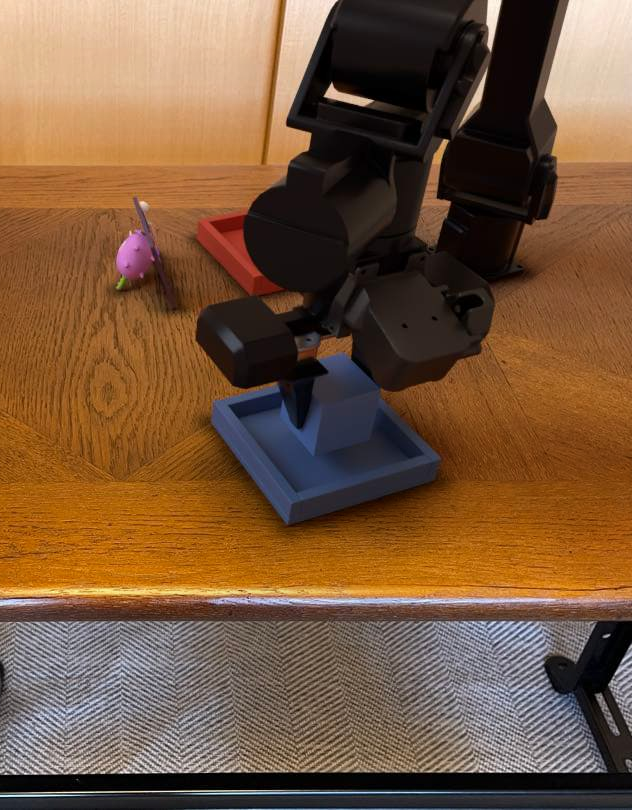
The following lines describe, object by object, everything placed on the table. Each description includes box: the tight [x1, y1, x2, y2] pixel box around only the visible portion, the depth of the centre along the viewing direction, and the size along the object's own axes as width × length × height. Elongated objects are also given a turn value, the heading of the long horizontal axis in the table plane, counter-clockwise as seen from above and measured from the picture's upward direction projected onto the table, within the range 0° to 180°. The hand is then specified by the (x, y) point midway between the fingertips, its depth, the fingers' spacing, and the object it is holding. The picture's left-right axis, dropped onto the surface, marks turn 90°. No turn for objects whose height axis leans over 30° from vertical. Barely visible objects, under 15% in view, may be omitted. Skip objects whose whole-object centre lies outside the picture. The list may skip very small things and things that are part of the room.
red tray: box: [196, 209, 286, 297], centre depth 86 cm, size 12×11×2 cm
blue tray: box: [210, 384, 442, 526], centre depth 65 cm, size 12×11×2 cm
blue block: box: [280, 352, 382, 457], centre depth 63 cm, size 4×4×4 cm
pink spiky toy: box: [115, 196, 177, 310], centre depth 81 cm, size 7×5×9 cm
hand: (325, 417), depth 64 cm, fingers closed on blue block, 4 cm apart
